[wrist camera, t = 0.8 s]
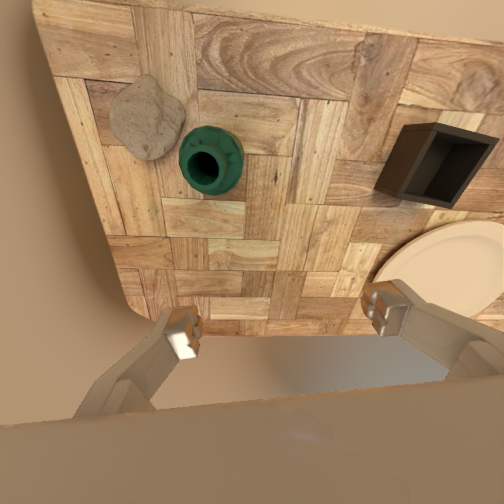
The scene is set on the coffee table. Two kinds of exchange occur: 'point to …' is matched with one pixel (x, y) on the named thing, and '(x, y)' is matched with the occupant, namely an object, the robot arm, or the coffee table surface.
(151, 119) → the stone
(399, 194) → the holder
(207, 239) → the coffee table surface
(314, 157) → the coffee table surface
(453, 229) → the plate
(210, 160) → the bottle
